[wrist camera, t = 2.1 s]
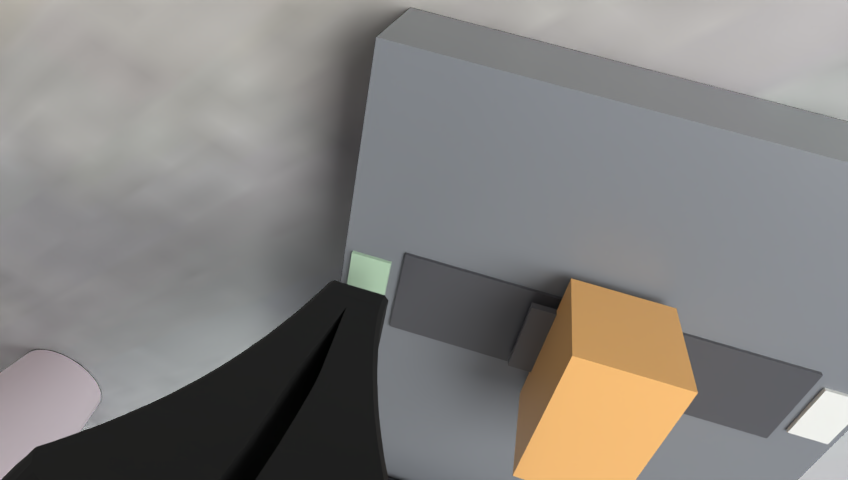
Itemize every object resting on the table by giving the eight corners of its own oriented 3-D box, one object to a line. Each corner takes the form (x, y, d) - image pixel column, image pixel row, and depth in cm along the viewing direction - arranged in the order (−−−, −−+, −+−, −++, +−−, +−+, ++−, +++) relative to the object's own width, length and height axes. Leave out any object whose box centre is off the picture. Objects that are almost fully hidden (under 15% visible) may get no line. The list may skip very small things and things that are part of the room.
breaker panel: (964, 151, 13) (1104, 249, 9) (585, 612, 26) (588, 717, 23) (410, 7, 14) (360, 50, 10) (320, 526, 27) (286, 616, 24)
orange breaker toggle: (702, 314, 13) (730, 402, 11) (630, 425, 15) (641, 515, 13) (545, 269, 13) (541, 346, 11) (497, 385, 15) (487, 468, 13)
